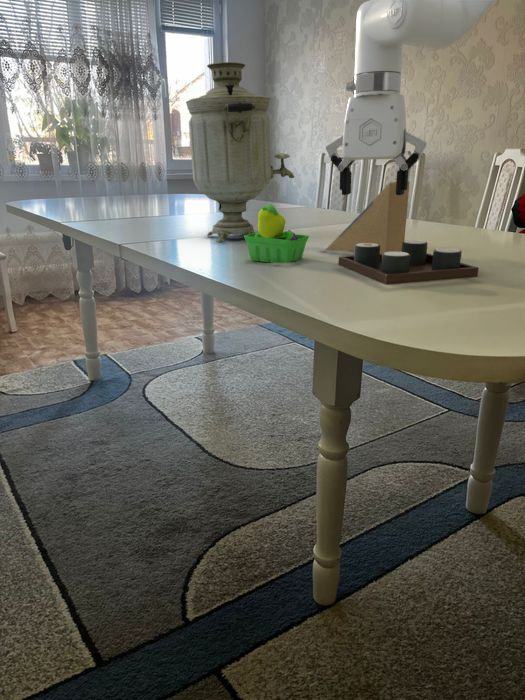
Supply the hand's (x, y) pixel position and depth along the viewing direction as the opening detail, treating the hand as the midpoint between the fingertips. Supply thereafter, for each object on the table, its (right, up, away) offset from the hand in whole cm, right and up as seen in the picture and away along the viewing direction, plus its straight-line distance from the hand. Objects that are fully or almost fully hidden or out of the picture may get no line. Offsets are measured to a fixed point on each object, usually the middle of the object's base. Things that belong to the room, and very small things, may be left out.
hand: (372, 194), depth 95 cm
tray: (+6, -14, +2) cm, 15 cm away
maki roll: (0, -12, +5) cm, 13 cm away
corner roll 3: (+12, -14, -1) cm, 19 cm away
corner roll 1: (+3, -15, -4) cm, 16 cm away
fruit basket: (-17, -10, +14) cm, 24 cm away
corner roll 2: (+9, -11, +8) cm, 16 cm away
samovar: (-24, +1, +44) cm, 50 cm away
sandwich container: (+3, -6, +24) cm, 25 cm away
